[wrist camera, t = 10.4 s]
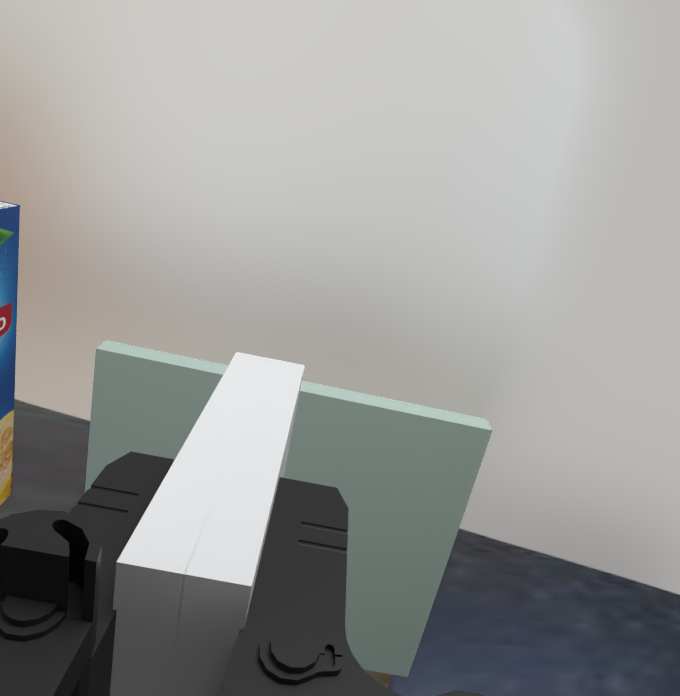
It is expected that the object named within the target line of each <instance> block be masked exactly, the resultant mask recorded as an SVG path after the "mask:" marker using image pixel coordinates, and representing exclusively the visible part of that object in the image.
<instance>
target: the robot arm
mask: <svg viewBox="0 0 680 696" xmlns="http://www.w3.org/2000/svg"><path fill="white" fill-rule="evenodd" d="M303 371H304V365H300V364H295V363H290V362H285V361H280V360H275V359H270V358H264V357H259V356H254V355H249V354H244V353H239V352H236V354H235V355H234V357H233V359H232V361H231V363H230V364H229V366H228V368H227V369H226V371H225V373H224V375H223V376H222V378H221V380H220V382H219V383H218V385H217V387H216V389H215V390H214V392H213V394H212V396H211V397H210V399H209V401H208V403H207V404H206V406H205V408H204V410H203V411H202V413H201V415H200V417H199V418H198V420H197V422H196V424H195V425H194V427H193V429H192V431H191V432H190V434H189V436H188V438H187V439H186V441H185V443H184V445H183V446H182V448H181V450H180V452H179V453H178V455H177V457H176V459H170V458H164V457H159V456H154V455H148V454H143V453H138V452H132V451H131V452H129V453H127V454H125V455H124V456H122V457H120V458H118V459H117V460H115V461H113V462H111V463H110V464H108V465H106V466H105V468H104V469H103V470H102V471H101V473H100V474H99V475H98V477H97V478H96V479H95V481H94V482H93V483H92V484H91V488H90V489H88V490H87V491H86V492H85V494H84V495H83V496H82V497H81V499H80V500H79V501H78V505H77V506H75V507H74V508H73V509H72V510H71V512H70V513H66V512H63V511H45V510H36V511H30V512H24V513H18V514H12V515H10V516H7V517H5V518H2V519H0V696H401V695H399V694H397V693H395V692H393V691H391V690H390V689H388V688H386V687H385V686H383V685H382V684H380V683H378V682H377V681H375V680H374V679H373V678H372V677H371V676H370V675H369V674H368V673H367V672H366V671H365V670H364V669H363V668H362V667H361V666H360V664H359V663H358V662H357V660H356V659H355V657H354V656H353V654H352V652H351V650H350V647H349V645H348V642H347V639H346V630H345V610H346V577H347V543H348V534H347V532H348V510H349V508H348V506H347V505H346V503H345V501H344V499H343V497H342V496H341V494H340V492H339V490H338V488H336V487H331V486H325V485H320V484H314V483H309V482H304V481H298V480H293V479H288V478H283V476H284V472H285V466H286V461H287V456H288V451H289V445H290V440H291V435H292V430H293V424H294V419H295V414H296V409H297V403H298V398H299V393H300V388H301V382H302V377H303ZM438 696H483V695H480V694H477V693H470V692H463V691H453V692H449V693H445V694H442V695H438Z"/></svg>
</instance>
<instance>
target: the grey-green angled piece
mask: <svg viewBox="0 0 680 696" xmlns="http://www.w3.org/2000/svg"><path fill="white" fill-rule="evenodd" d="M228 366H229V365H224V364H219V363H214V362H209V361H205V360H200V359H195V358H190V357H186V356H181V355H176V354H171V353H166V352H161V351H157V350H152V349H147V348H142V347H137V346H133V345H127V344H123V343H118V342H113V341H108V340H106V341H105V342H104V343H102V344H101V345H100V346H99V347H97V348H96V356H95V369H94V382H93V395H92V408H91V420H90V433H89V446H88V459H87V471H86V484H85V492H86V491H87V490H88V489H90V488H91V484H92V483H93V482H94V481H95V479H96V478H97V477H98V475H99V474H100V473H101V471H102V470H103V469H104V468H105V466H106V465H108V464H110V463H111V462H113V461H115V460H117V459H118V458H120V457H122V456H124V455H125V454H127V453H129V452H131V451H132V452H138V453H143V454H148V455H154V456H159V457H164V458H170V459H176V457H177V455H178V453H179V452H180V450H181V448H182V446H183V445H184V443H185V441H186V439H187V438H188V436H189V434H190V432H191V431H192V429H193V427H194V425H195V424H196V422H197V420H198V418H199V417H200V415H201V413H202V411H203V410H204V408H205V406H206V404H207V403H208V401H209V399H210V397H211V396H212V394H213V392H214V390H215V389H216V387H217V385H218V383H219V382H220V380H221V378H222V376H223V375H224V373H225V371H226V369H227V368H228ZM491 433H492V429H491V427H490V425H489V423H488V420H487V419H484V418H479V417H475V416H470V415H465V414H460V413H455V412H451V411H446V410H441V409H436V408H431V407H426V406H422V405H417V404H412V403H407V402H402V401H398V400H393V399H388V398H383V397H378V396H373V395H368V394H364V393H359V392H354V391H349V390H344V389H340V388H335V387H330V386H325V385H320V384H316V383H311V382H306V381H302V382H301V388H300V393H299V398H298V403H297V409H296V414H295V419H294V424H293V430H292V435H291V440H290V445H289V451H288V456H287V461H286V466H285V472H284V476H283V478H288V479H293V480H298V481H304V482H309V483H314V484H320V485H325V486H331V487H336V488H338V490H339V492H340V494H341V496H342V497H343V499H344V501H345V503H346V505H347V506H348V508H349V510H348V532H347V534H348V543H347V577H346V610H345V630H346V639H347V642H348V645H349V647H350V650H351V652H352V654H353V656H354V657H355V659H356V660H357V662H358V663H359V664H360V666H361V667H362V668H363V669H365V670H371V671H376V672H382V673H387V674H393V675H398V676H404V677H408V675H409V672H410V669H411V667H412V664H413V661H414V658H415V655H416V652H417V649H418V646H419V643H420V640H421V637H422V634H423V631H424V629H425V626H426V623H427V620H428V617H429V614H430V611H431V608H432V605H433V602H434V599H435V596H436V593H437V591H438V588H439V585H440V582H441V579H442V576H443V573H444V570H445V567H446V564H447V561H448V558H449V556H450V553H451V550H452V547H453V544H454V541H455V538H456V535H457V532H458V529H459V526H460V523H461V520H462V517H463V514H464V512H465V509H466V506H467V503H468V500H469V497H470V494H471V491H472V488H473V485H474V482H475V479H476V477H477V474H478V471H479V468H480V465H481V462H482V459H483V456H484V453H485V450H486V447H487V444H488V442H489V439H490V436H491Z"/></svg>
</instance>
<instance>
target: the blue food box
mask: <svg viewBox="0 0 680 696" xmlns="http://www.w3.org/2000/svg"><path fill="white" fill-rule="evenodd" d="M19 211H20V205H16V204H12V203H7V202H2V201H0V505H1V504H2V503H3V502H4V501H5V500H6V499H7V498H8V497H9V496H10V495H11V494H12V461H13V426H14V389H15V355H16V354H15V353H16V318H17V284H18V283H17V282H18V248H19Z"/></svg>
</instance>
